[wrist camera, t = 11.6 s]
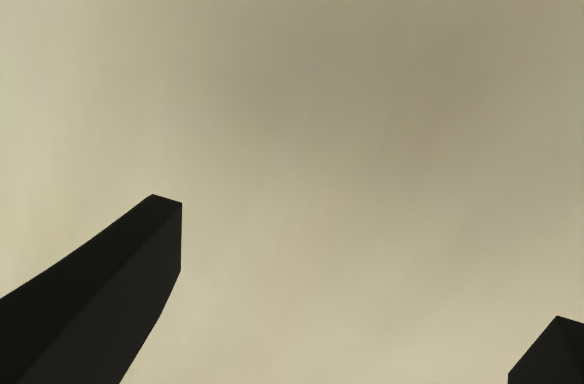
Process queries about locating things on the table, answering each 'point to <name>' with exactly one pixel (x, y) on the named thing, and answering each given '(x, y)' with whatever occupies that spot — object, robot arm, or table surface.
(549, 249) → the table surface
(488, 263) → the table surface
